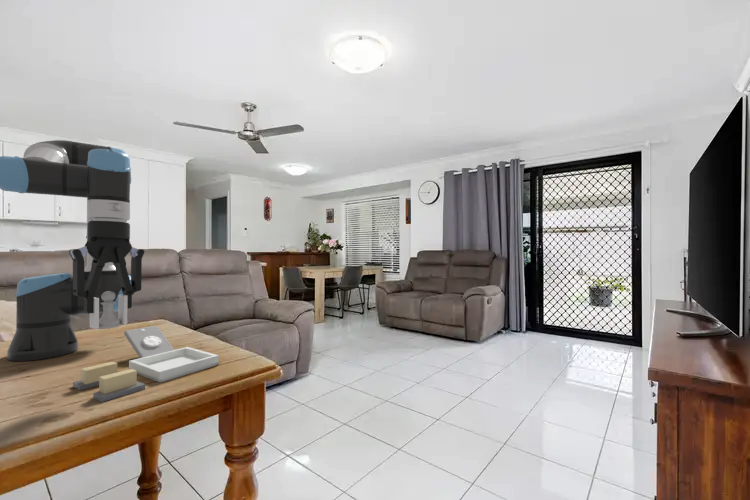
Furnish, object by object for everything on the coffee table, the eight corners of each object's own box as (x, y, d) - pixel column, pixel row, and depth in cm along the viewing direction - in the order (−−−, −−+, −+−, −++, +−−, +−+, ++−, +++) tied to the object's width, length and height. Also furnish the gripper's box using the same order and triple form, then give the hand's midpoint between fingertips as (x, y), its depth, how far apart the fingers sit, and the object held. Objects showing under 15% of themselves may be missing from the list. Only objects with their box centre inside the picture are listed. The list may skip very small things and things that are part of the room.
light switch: (147, 360, 91) (125, 327, 98) (141, 377, 92) (120, 344, 99) (179, 352, 98) (157, 322, 105) (174, 368, 100) (152, 338, 106)
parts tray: (129, 370, 88) (129, 360, 88) (187, 355, 100) (187, 346, 100) (159, 382, 80) (159, 371, 80) (218, 364, 92) (218, 355, 92)
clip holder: (72, 386, 77) (73, 368, 77) (114, 375, 84) (114, 359, 84) (101, 402, 69) (101, 382, 69) (145, 388, 76) (145, 370, 76)
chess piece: (92, 327, 77) (92, 291, 77) (117, 323, 80) (117, 289, 80) (98, 330, 74) (98, 293, 74) (124, 326, 78) (124, 290, 77)
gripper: (64, 217, 67) (63, 336, 67) (160, 223, 82) (159, 320, 82) (50, 218, 71) (50, 331, 71) (144, 224, 86) (144, 317, 86)
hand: (108, 325), depth 77 cm, fingers closed on chess piece, 5 cm apart
